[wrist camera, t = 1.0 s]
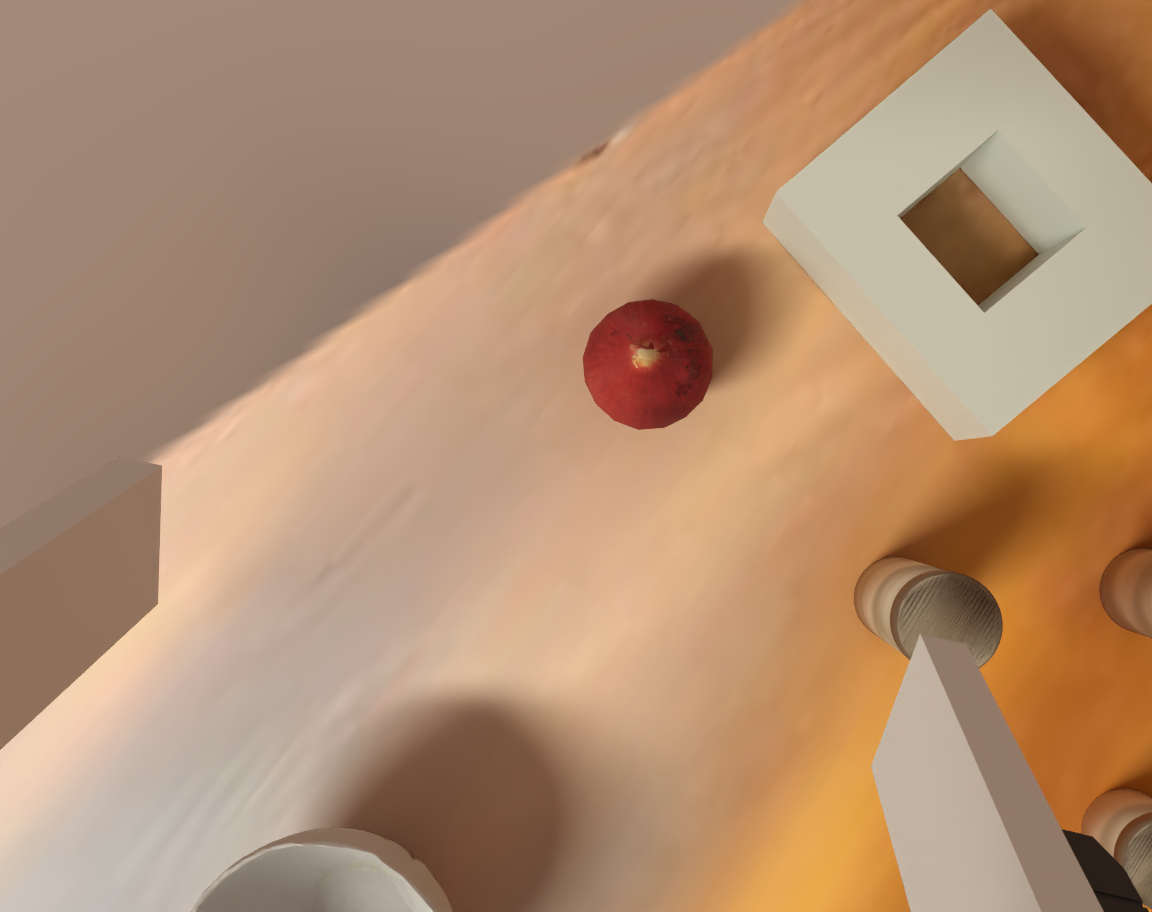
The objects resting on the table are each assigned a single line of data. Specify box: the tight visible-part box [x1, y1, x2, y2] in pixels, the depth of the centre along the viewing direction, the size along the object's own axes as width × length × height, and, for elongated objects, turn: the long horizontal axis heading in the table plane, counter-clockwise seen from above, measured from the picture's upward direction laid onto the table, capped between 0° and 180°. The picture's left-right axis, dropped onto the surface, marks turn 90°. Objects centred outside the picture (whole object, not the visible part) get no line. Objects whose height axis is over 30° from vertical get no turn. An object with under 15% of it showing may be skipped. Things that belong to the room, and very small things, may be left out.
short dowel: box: [1081, 789, 1152, 909], centre depth 42 cm, size 4×4×4 cm
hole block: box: [762, 9, 1152, 441], centre depth 43 cm, size 14×12×5 cm
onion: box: [583, 299, 712, 430], centre depth 43 cm, size 6×6×8 cm
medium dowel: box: [854, 557, 1003, 668], centre depth 41 cm, size 4×4×8 cm
